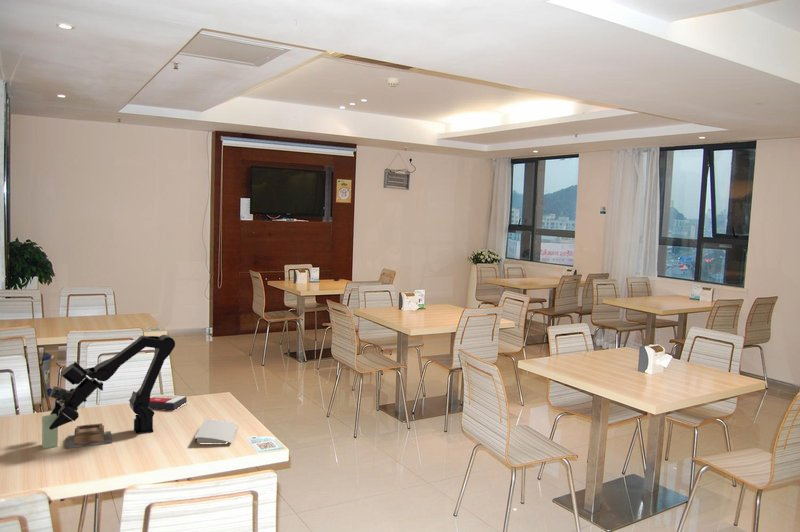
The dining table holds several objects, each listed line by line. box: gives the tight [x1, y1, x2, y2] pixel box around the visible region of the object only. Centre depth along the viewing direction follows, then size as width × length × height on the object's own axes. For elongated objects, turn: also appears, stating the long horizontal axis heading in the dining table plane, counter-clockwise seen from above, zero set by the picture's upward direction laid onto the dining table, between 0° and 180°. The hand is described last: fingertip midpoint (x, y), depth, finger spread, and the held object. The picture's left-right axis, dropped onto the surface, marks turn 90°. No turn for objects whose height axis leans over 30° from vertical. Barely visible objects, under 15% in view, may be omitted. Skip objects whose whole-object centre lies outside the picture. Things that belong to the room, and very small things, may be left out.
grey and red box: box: [149, 394, 188, 411], centre depth 276 cm, size 11×4×15 cm
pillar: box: [41, 414, 59, 450], centre depth 225 cm, size 5×5×11 cm
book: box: [193, 418, 238, 444], centre depth 241 cm, size 15×23×4 cm, turn 7°
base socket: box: [65, 422, 113, 449], centre depth 231 cm, size 15×12×5 cm
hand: (48, 425), depth 224 cm, fingers open, 9 cm apart
